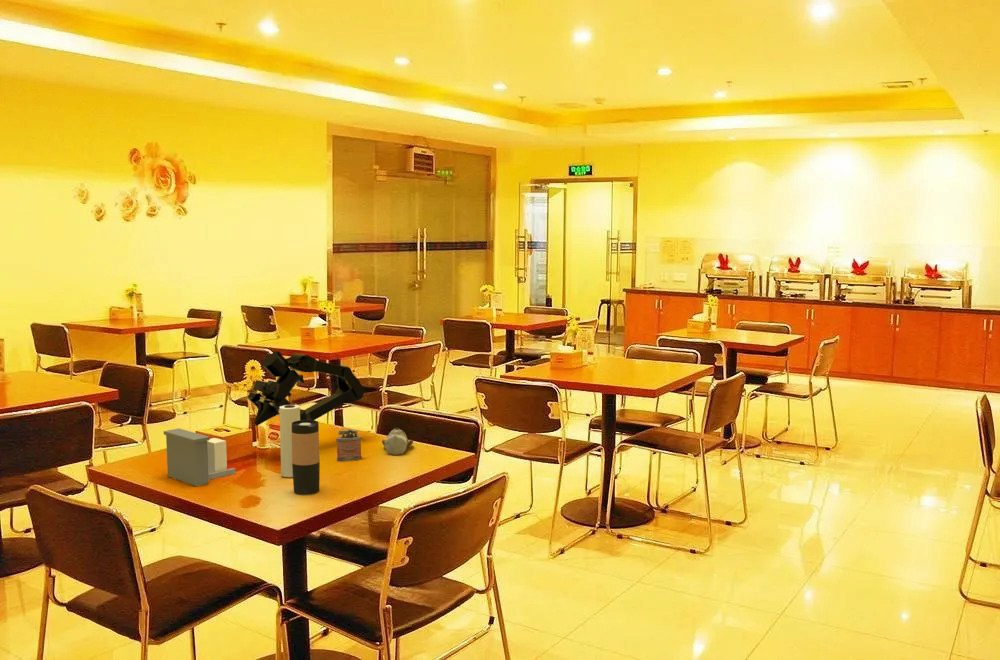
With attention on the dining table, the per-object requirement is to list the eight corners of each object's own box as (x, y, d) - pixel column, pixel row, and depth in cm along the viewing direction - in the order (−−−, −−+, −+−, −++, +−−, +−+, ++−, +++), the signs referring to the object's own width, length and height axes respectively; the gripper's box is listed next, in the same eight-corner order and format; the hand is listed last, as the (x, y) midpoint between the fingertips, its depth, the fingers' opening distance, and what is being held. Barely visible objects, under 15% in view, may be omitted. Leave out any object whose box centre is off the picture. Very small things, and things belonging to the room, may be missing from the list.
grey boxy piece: (212, 466, 273) (210, 422, 272) (243, 475, 262) (241, 430, 261) (165, 476, 261) (163, 431, 260) (195, 487, 250) (193, 439, 249)
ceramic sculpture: (378, 430, 284) (382, 423, 299) (378, 456, 285) (382, 448, 300) (411, 430, 285) (413, 423, 300) (411, 456, 285) (413, 448, 300)
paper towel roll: (288, 479, 259) (286, 408, 257) (277, 475, 263) (275, 406, 261) (308, 474, 264) (307, 405, 262) (297, 470, 268) (295, 402, 266)
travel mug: (296, 487, 251) (295, 419, 248) (323, 487, 250) (321, 419, 248) (289, 495, 243) (287, 425, 241) (316, 495, 243) (315, 425, 241)
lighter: (360, 457, 284) (360, 427, 283) (362, 460, 281) (361, 429, 280) (336, 459, 282) (335, 429, 281) (337, 462, 279) (336, 431, 277)
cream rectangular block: (216, 469, 268) (215, 437, 267) (227, 472, 265) (226, 440, 263) (204, 472, 265) (203, 440, 264) (215, 475, 261) (214, 443, 260)
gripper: (251, 367, 283) (222, 405, 276) (285, 373, 271) (256, 413, 264) (272, 388, 290) (244, 426, 282) (306, 394, 278) (279, 434, 270)
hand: (255, 424), depth 275 cm, fingers closed
